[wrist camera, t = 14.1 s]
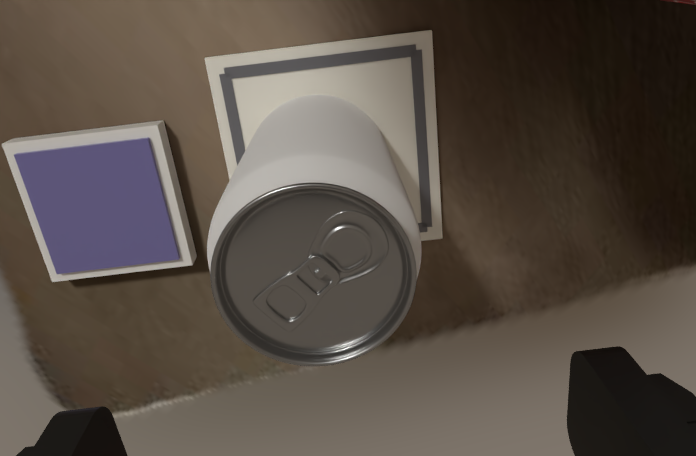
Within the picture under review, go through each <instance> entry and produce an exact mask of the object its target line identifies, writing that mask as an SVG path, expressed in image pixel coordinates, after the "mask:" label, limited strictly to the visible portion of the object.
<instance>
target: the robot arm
mask: <svg viewBox="0 0 696 456" xmlns="http://www.w3.org/2000/svg"><path fill="white" fill-rule="evenodd" d="M567 428H568V434H569V439H570V443H571V446H572V449H573V451H574V454H575V456H696V397H695V396H694V394H693V393H691V392H690V391H688V390H687V389H685V388H683V387H682V386H680V385H678V384H677V383H675V382H674V381H672V380H670V379H669V378H667V377H666V376H664V375H662V374H661V373H660V374H651V375H646V373H645V372H644V371H643V370H642V369H641V367H640V366H639V365H638V364H637V363H636V361H635V360H634V359H633V358H632V357H631V356H630V354H629V353H628V352H627V351H626V350H625V349H624V348H622V347H609V348H602V349H593V350H585V351H576V352H574V353H573V355H572V357H571V363H570V379H569V395H568V411H567ZM16 456H127V453H126V450H125V448H124V445H123V442H122V440H121V437H120V434H119V432H118V429H117V426H116V424H115V421H114V418H113V416H112V413H111V412H110V410H109V409H108V408H106V407H95V408H86V409H78V410H70V411H62V412H59V413H57V414H56V415H55V416H53V418H52V419H51V420H50V422H49V424H48V425H47V427H46V429H45V430H44V432H43V433H42V435H41V436H40V438H39V440H38V441H37V443H36V444H35V446H32V447H25V448H24V449H23V450H22V451H21V452H20V453H19V454H17V455H16Z"/></svg>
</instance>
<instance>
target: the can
mask: <svg viewBox="0 0 696 456" xmlns="http://www.w3.org/2000/svg"><path fill="white" fill-rule="evenodd" d="M421 254H422V247H421V237H420V230H419V226H418V222H417V219H416V216H415V213H414V210H413V207H412V205H411V202H410V200H409V197H408V195H407V192H406V190H405V187H404V185H403V182H402V180H401V177H400V175H399V173H398V170H397V168H396V165H395V163H394V161H393V158H392V156H391V153H390V151H389V149H388V146H387V144H386V142H385V140H384V137H383V135H382V133H381V131H380V130H379V128H378V126H377V125H376V124H375V122H374V121H373V120H372V119H371V118H370V117H369V116H368V115H367V114H366V113H365V112H363V111H362V110H361V109H359V108H358V107H357V106H355V105H353V104H352V103H350V102H348V101H346V100H344V99H341V98H338V97H335V96H330V95H320V94H315V95H306V96H301V97H297V98H294V99H292V100H289V101H287V102H285V103H283V104H282V105H280V106H278V107H277V108H276V109H274V110H273V111H272V112H271V113H270V114H269V115H268V116H267V117H266V118H265V119H264V120H263V122H262V123H261V124H260V126H259V127H258V129H257V130H256V132H255V134H254V136H253V138H252V139H251V141H250V143H249V145H248V147H247V149H246V151H245V152H244V154H243V156H242V158H241V160H240V162H239V164H238V166H237V168H236V170H235V171H234V173H233V175H232V177H231V179H230V181H229V183H228V185H227V187H226V189H225V191H224V193H223V195H222V197H221V199H220V201H219V203H218V206H217V208H216V210H215V213H214V215H213V218H212V221H211V225H210V229H209V234H208V242H207V258H208V265H209V270H210V278H211V288H212V293H213V297H214V300H215V303H216V305H217V308H218V310H219V312H220V314H221V316H222V317H223V319H224V321H225V322H226V324H227V325H228V326H229V328H230V329H231V330H232V331H233V332H234V333H235V334H236V335H237V336H238V337H239V338H240V339H241V340H242V341H243V342H244V343H246V344H247V345H248V346H250V347H251V348H253V349H254V350H256V351H258V352H259V353H261V354H263V355H265V356H267V357H270V358H272V359H275V360H278V361H281V362H284V363H288V364H293V365H300V366H328V365H334V364H339V363H343V362H347V361H350V360H353V359H356V358H358V357H360V356H362V355H365V354H366V353H368V352H370V351H372V350H373V349H375V348H376V347H378V346H379V345H381V344H382V343H383V342H384V341H386V340H387V339H388V338H389V337H390V336H391V335H392V334H393V333H394V332H395V330H396V329H397V328H398V327H399V326H400V324H401V323H402V321H403V320H404V318H405V316H406V315H407V313H408V311H409V308H410V306H411V304H412V301H413V297H414V293H415V288H416V280H417V277H418V274H419V270H420V264H421Z"/></svg>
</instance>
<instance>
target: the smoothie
mask: <svg viewBox="0 0 696 456" xmlns="http://www.w3.org/2000/svg"><path fill="white" fill-rule="evenodd" d="M662 1H670V2H678V3H686V4H694V5H696V0H662Z"/></svg>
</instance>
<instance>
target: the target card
mask: <svg viewBox="0 0 696 456" xmlns="http://www.w3.org/2000/svg"><path fill="white" fill-rule="evenodd" d="M205 63H206V68H207V73H208V78H209V82H210V87H211V92H212V97H213V102H214V107H215V111H216V116H217V121H218V126H219V131H220V136H221V140H222V145H223V150H224V155H225V160H226V164H227V169H228V174H229V179H231V177H232V175H233V173H234V171H235V170H236V168H237V166H238V164H239V162H240V160H241V158H242V156H243V154H244V152H245V151H246V149H247V147H248V145H249V143H250V141H251V139H252V138H253V136H254V134H255V132H256V130H257V129H258V127H259V126H260V124H261V123H262V122H263V120H264V119H265V118H266V117H267V116H268V115H269V114H270V113H271V112H272V111H273V110H274V109H276V108H277V107H278V106H280V105H282V104H283V103H285V102H287V101H289V100H292V99H294V98H297V97H301V96H306V95H315V94H320V95H330V96H335V97H338V98H341V99H344V100H346V101H348V102H350V103H352V104H353V105H355V106H357V107H358V108H359V109H361V110H362V111H363V112H365V113H366V114H367V115H368V116H369V117H370V118H371V119H372V120H373V121H374V122H375V124H376V125H377V126H378V128H379V130H380V131H381V133H382V135H383V137H384V140H385V142H386V144H387V146H388V149H389V151H390V153H391V156H392V158H393V161H394V163H395V165H396V168H397V170H398V173H399V175H400V177H401V180H402V182H403V185H404V187H405V190H406V192H407V195H408V197H409V200H410V202H411V205H412V207H413V210H414V213H415V216H416V219H417V222H418V226H419V230H420V237H421V241H427V240H435V239H443V236H442V216H441V197H440V177H439V158H438V138H437V118H436V99H435V79H434V60H433V40H432V30H425V31H417V32H409V33H400V34H392V35H384V36H376V37H368V38H360V39H352V40H343V41H335V42H327V43H319V44H311V45H303V46H295V47H286V48H278V49H270V50H262V51H254V52H246V53H238V54H229V55H221V56H213V57H206V58H205Z"/></svg>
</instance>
